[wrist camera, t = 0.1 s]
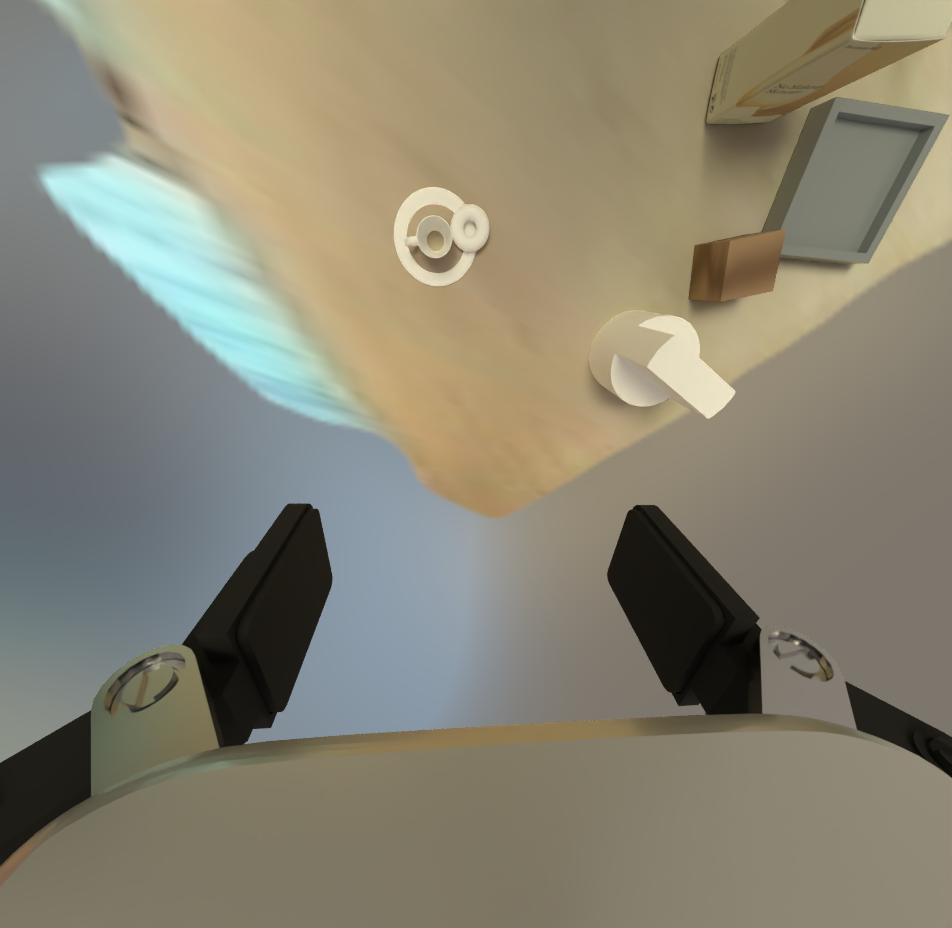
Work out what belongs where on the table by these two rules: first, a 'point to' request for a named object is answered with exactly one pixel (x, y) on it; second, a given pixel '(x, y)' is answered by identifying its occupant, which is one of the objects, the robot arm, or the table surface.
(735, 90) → the skincare box
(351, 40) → the table surface
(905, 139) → the slate tray
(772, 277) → the walnut block
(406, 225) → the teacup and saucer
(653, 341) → the base with upright slab
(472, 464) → the table surface
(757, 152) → the table surface
